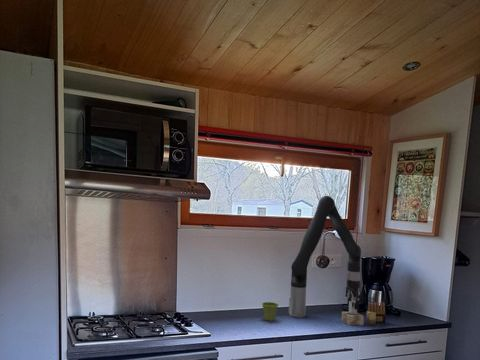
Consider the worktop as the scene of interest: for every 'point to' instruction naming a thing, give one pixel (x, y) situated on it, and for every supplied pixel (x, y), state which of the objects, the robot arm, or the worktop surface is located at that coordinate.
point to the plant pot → (269, 310)
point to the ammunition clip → (378, 312)
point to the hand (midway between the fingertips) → (352, 307)
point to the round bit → (371, 318)
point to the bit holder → (352, 319)
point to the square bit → (352, 308)
